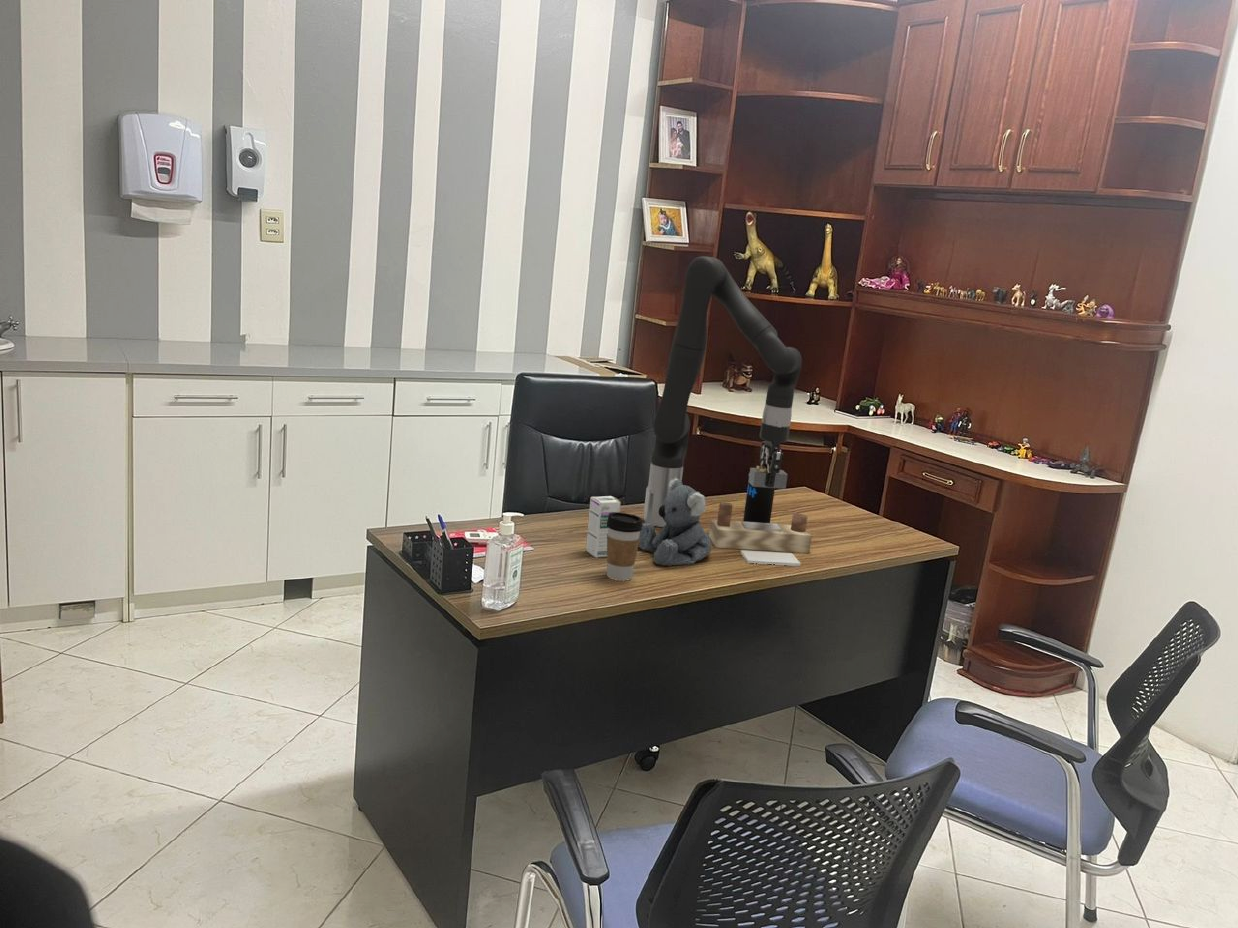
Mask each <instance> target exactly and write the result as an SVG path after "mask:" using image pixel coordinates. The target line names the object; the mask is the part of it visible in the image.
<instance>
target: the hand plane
mask: <svg viewBox="0 0 1238 928" xmlns="http://www.w3.org/2000/svg"><path fill="white" fill-rule="evenodd" d="M718 505H719V506H718V512H717V513H718V515H717V519H710V524H709V532H708V533H709V534H708V537H709V539H710V541H711V544H713V546H714V548H719V549H721V548H722V549H736V550H737V549H738V550H748V551H765V552H781V553H802V554H810V550H811V544H812V538H813V537H812V536H813V535H812V533H810V532H809V530H807V524H808V515H806V514H802V513H794V514H793V513H792V519H791V524H785V523H783V524H782V523H771V522H770V523H758V522H743V520H742V521H739V520H738V521H736V520H732V514H733V513H732V512H733V504H732V502H720V501H719V504H718Z"/></svg>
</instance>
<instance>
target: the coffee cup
mask: <svg viewBox="0 0 1238 928" xmlns="http://www.w3.org/2000/svg"><path fill="white" fill-rule="evenodd" d="M642 524H643V518H641V517H640V516H638V515H635V514H632V513H627V512H626V513H625V512H620V513H619V512H612V513H610V514H609V517H608V521H607V527H608V534H607V557H606V562H607V563H606V576H609V577H611V578H613V579H617V580H627V579H630V578H631V579H632V578H633V573H634V567H635V564H636V558H637V554H638V549H639V546H638V545H639V540H640V537H639V535H640V531H641V530H642V527H643V525H642ZM613 579H612V580H613ZM631 579H630V580H631ZM617 580H616V581H617ZM627 581H628V580H627Z"/></svg>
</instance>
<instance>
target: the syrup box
mask: <svg viewBox="0 0 1238 928" xmlns="http://www.w3.org/2000/svg"><path fill="white" fill-rule="evenodd" d="M620 511H621V501H620V500H619V499H618V498H617V497H614V496H612V495H605V496H603V495H602V496H590V501H589V512H588V527H587V537H586V538H587V539H586V548H585V549H586V551H587V552H588V553H589V555H591V556H593V557H594V558H595V559H596V558H597V559H598V558H605V557H606V558H607V534H608V527H607V521H608V517H609V514H610V513H612V512H619V513H621V512H620Z"/></svg>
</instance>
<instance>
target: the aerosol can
mask: <svg viewBox="0 0 1238 928" xmlns="http://www.w3.org/2000/svg"><path fill="white" fill-rule="evenodd" d="M749 474H750V472H749V473H748V477H749ZM775 491H776V488H766V487H753V486H752V485H751V484H750V483H749V480H748V482H747V490H746V497H745V503H744V513H743V520H742V522H758V523H771V518H772V511H773V504H774V498H775Z"/></svg>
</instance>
